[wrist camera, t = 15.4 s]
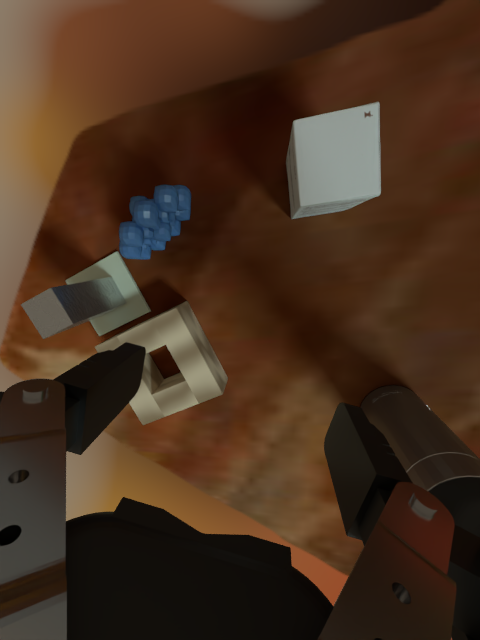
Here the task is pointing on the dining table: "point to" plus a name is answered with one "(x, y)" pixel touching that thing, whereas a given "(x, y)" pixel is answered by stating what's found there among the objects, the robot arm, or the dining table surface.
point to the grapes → (154, 221)
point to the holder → (189, 354)
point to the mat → (126, 285)
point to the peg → (72, 305)
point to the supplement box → (334, 161)
